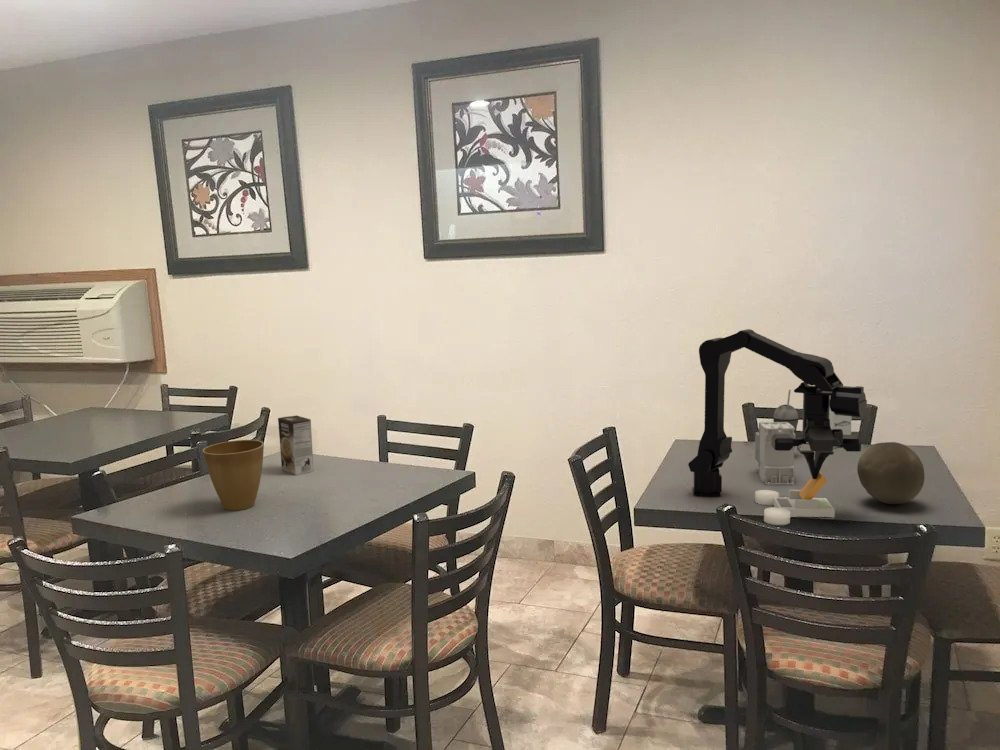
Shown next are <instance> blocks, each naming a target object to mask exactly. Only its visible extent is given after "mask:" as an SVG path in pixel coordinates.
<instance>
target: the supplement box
mask: <svg viewBox="0 0 1000 750" xmlns="http://www.w3.org/2000/svg"><path fill="white" fill-rule="evenodd" d="M829 419H830V427H831V430H833V429H842V431H843V435H852V419H853V418H852V416H842V415H835V414H834V412H831V409H830V412H829ZM834 448H836V447H833V449H834Z"/></svg>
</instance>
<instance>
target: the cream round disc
mask: <svg viewBox="0 0 1000 750" xmlns="http://www.w3.org/2000/svg"><path fill="white" fill-rule="evenodd" d="M763 521H764V523H766V524H768V525H773V526H785V525H788V524H790V523H791V517H790V511H789V510H787V509H783V508H777V507H774V506H773V507H772V506H769V507H766V508H764V511H763Z"/></svg>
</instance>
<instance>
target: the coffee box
mask: <svg viewBox="0 0 1000 750" xmlns="http://www.w3.org/2000/svg"><path fill="white" fill-rule="evenodd" d="M277 420H278V421H277V422H278V435H279V447H280V462H281V470H282V471H284V472H286V473H289V474H291V475H293V476H298V475H303V474H308V473H313V472H314V471H315V470H314V469H315V468H314V456H313V455H314V454H313V437H312V420H311V419H310V418H307V417H303V416H300V415H296V414H295V415H289V416H283V417H282V416H281V417H278V418H277Z"/></svg>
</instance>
